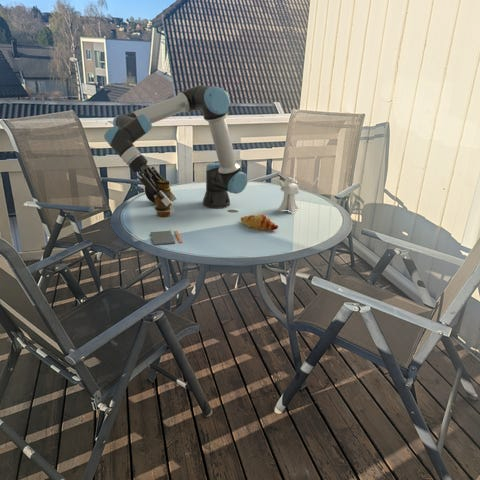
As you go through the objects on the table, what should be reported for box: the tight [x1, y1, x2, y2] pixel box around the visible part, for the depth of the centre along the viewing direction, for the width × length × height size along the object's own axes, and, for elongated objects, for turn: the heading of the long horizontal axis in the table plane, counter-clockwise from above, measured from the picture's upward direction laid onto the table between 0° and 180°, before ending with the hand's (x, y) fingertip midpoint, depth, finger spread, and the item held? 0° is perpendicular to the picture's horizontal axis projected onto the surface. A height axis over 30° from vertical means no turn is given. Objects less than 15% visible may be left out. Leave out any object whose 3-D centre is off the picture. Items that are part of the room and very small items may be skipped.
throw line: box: [174, 230, 183, 244], centre depth 183 cm, size 1×14×1 cm, turn 18°
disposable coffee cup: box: [153, 195, 172, 218], centre depth 208 cm, size 10×10×12 cm
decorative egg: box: [144, 182, 157, 204], centre depth 225 cm, size 12×12×15 cm
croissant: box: [240, 214, 279, 231], centre depth 199 cm, size 21×10×8 cm, turn 56°
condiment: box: [152, 179, 175, 213], centre depth 173 cm, size 7×8×12 cm
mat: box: [150, 230, 176, 246], centre depth 181 cm, size 9×14×1 cm, turn 17°
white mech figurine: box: [277, 176, 300, 213], centre depth 221 cm, size 12×13×18 cm
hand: (172, 202), depth 174 cm, fingers closed on condiment, 6 cm apart
